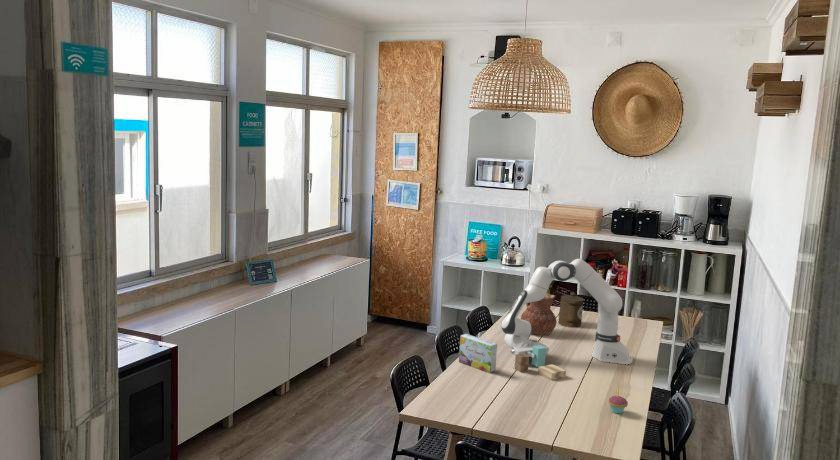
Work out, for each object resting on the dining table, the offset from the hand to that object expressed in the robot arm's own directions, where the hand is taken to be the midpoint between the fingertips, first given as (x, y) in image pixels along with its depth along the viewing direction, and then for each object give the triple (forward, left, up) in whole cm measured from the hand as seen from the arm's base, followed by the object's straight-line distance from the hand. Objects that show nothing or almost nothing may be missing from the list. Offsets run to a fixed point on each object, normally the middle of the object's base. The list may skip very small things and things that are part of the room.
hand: (539, 355), depth 357 cm
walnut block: (+7, +11, -6) cm, 14 cm away
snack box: (+29, +19, -6) cm, 35 cm away
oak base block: (-9, +10, -7) cm, 15 cm away
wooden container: (+2, -92, -6) cm, 93 cm away
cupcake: (-46, +40, -6) cm, 61 cm away
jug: (+16, -61, -6) cm, 64 cm away
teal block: (+1, -1, -6) cm, 6 cm away
